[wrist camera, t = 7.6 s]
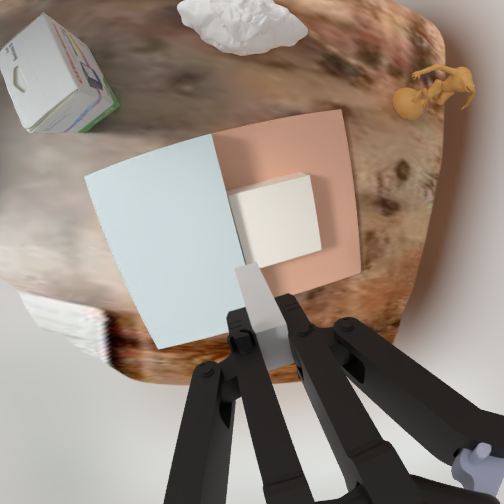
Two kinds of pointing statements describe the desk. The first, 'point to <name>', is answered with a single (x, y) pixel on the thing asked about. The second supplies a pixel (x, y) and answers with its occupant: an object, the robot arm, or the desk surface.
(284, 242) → the coaster
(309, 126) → the mat
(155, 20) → the desk surface
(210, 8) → the white tied bag
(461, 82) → the figurine
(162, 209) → the plate
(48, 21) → the ink box
